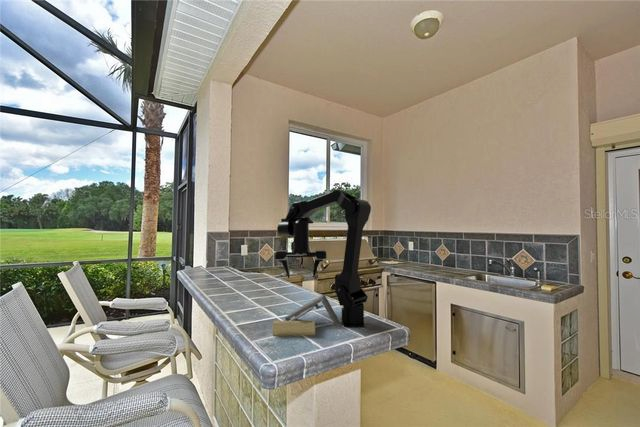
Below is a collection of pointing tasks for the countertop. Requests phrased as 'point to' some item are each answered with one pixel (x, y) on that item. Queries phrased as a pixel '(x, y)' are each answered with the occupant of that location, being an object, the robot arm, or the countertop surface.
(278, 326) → the tan wooden block
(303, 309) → the bracket
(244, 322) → the countertop surface
